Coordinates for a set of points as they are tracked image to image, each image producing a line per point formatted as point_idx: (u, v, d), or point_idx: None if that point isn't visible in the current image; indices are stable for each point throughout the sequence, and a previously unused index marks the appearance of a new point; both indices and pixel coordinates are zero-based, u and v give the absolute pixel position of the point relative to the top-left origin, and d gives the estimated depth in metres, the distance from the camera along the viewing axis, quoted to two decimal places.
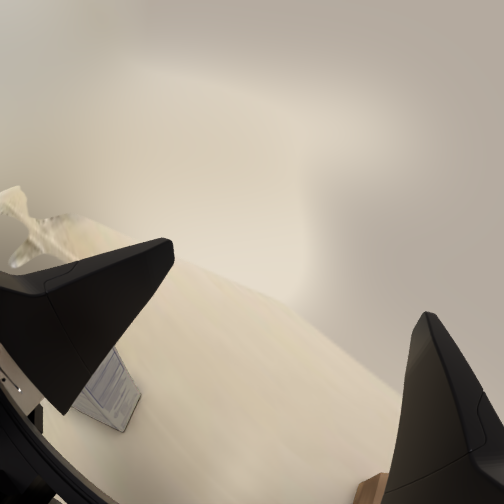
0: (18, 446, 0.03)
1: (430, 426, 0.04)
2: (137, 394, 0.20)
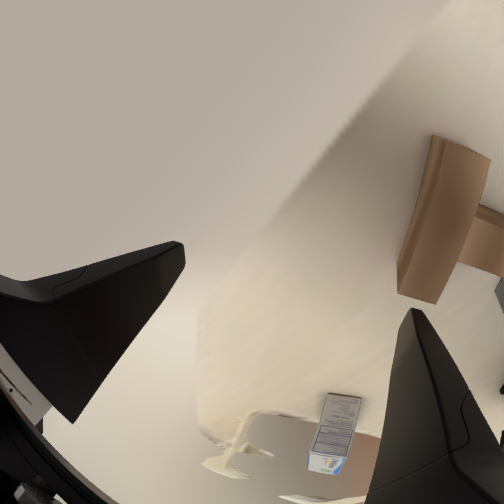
0: (18, 446, 0.03)
1: (412, 424, 0.04)
2: (330, 399, 0.29)
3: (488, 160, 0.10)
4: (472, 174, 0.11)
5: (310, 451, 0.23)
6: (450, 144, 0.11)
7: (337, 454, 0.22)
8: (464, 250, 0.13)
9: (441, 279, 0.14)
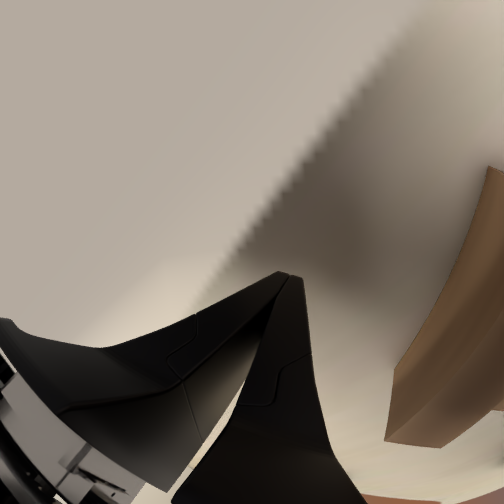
0: None
1: None
2: None
3: None
4: None
5: None
6: None
7: None
8: None
9: (458, 429, 0.06)
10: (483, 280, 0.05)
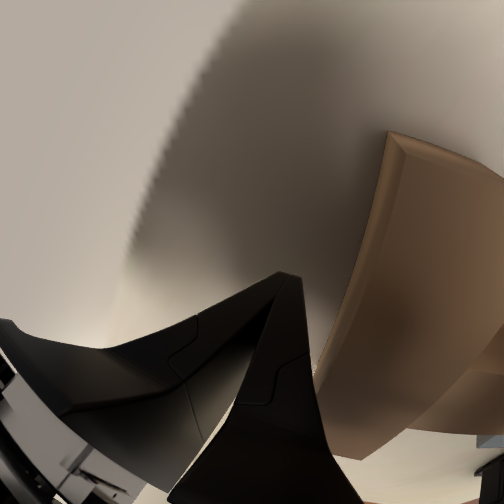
0: (18, 446, 0.03)
1: None
2: None
3: None
4: (493, 270, 0.03)
5: None
6: (425, 166, 0.03)
7: None
8: (426, 416, 0.05)
9: (370, 443, 0.07)
10: (362, 265, 0.06)
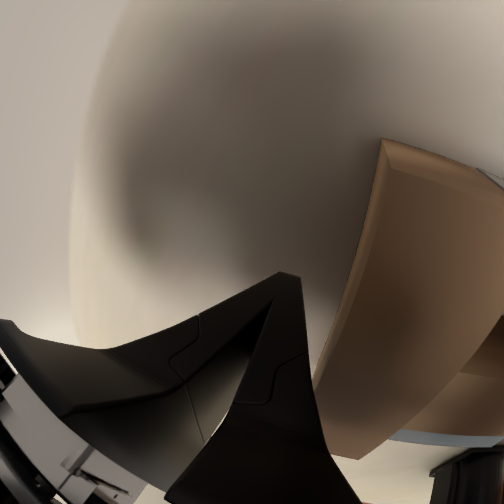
0: (18, 446, 0.03)
1: None
2: None
3: None
4: (480, 278, 0.03)
5: None
6: (410, 180, 0.03)
7: None
8: (420, 418, 0.05)
9: (366, 443, 0.07)
10: (354, 271, 0.06)
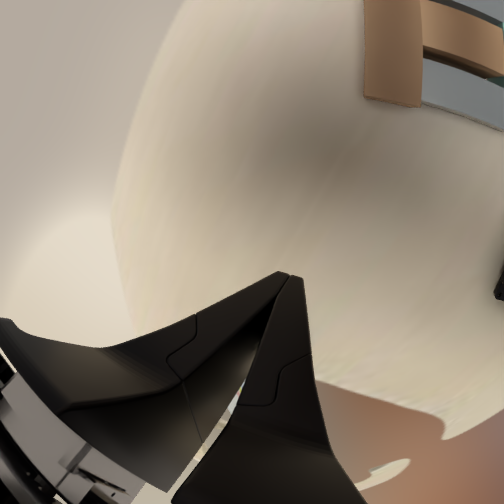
0: (18, 446, 0.03)
1: None
2: None
3: None
4: None
5: None
6: None
7: None
8: (425, 32, 0.08)
9: (413, 69, 0.09)
10: None
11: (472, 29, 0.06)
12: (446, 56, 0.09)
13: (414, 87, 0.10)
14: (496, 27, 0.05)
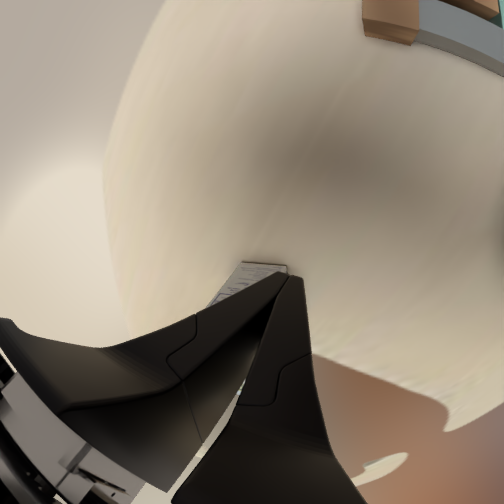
0: (18, 446, 0.03)
1: None
2: (241, 266, 0.24)
3: None
4: None
5: None
6: None
7: None
8: None
9: None
10: None
11: None
12: None
13: (411, 13, 0.08)
14: None
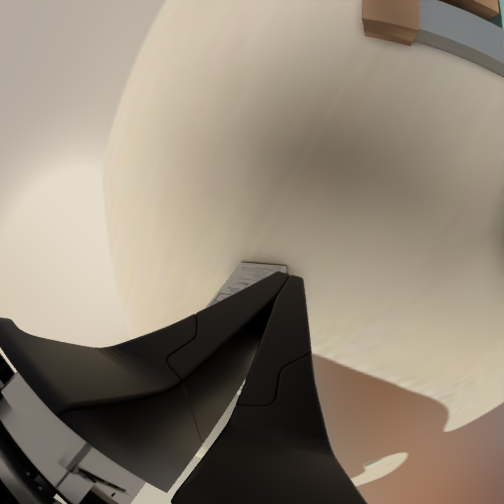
0: (18, 446, 0.03)
1: None
2: (241, 266, 0.24)
3: None
4: None
5: None
6: None
7: None
8: None
9: None
10: None
11: None
12: None
13: (411, 13, 0.08)
14: None
